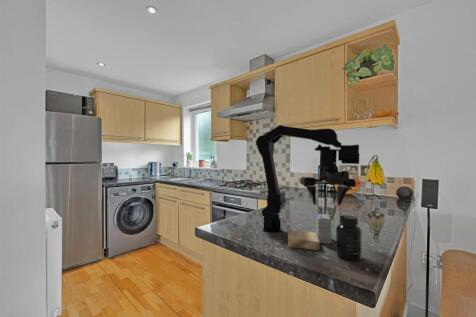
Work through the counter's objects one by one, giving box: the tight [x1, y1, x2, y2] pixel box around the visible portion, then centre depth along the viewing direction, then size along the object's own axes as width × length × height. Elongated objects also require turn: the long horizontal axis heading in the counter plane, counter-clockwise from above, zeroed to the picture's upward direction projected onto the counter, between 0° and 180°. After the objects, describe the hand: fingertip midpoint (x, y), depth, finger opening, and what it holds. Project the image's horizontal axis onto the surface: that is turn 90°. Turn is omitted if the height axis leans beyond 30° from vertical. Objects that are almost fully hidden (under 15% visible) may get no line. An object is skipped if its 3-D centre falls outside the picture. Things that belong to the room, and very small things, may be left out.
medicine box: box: [315, 213, 332, 245], centre depth 81 cm, size 8×4×9 cm, turn 168°
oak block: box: [287, 229, 320, 251], centre depth 78 cm, size 10×10×3 cm
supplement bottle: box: [335, 214, 362, 262], centre depth 67 cm, size 7×7×12 cm
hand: (326, 204), depth 83 cm, fingers open, 9 cm apart
